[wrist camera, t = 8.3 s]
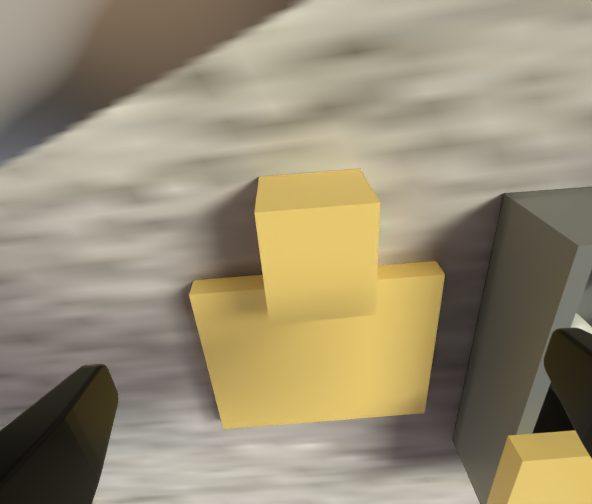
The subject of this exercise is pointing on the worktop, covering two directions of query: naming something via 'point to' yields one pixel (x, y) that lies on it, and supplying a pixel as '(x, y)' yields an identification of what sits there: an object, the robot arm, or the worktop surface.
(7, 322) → the worktop surface
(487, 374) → the parts tub
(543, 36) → the worktop surface
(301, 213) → the lid end segment
